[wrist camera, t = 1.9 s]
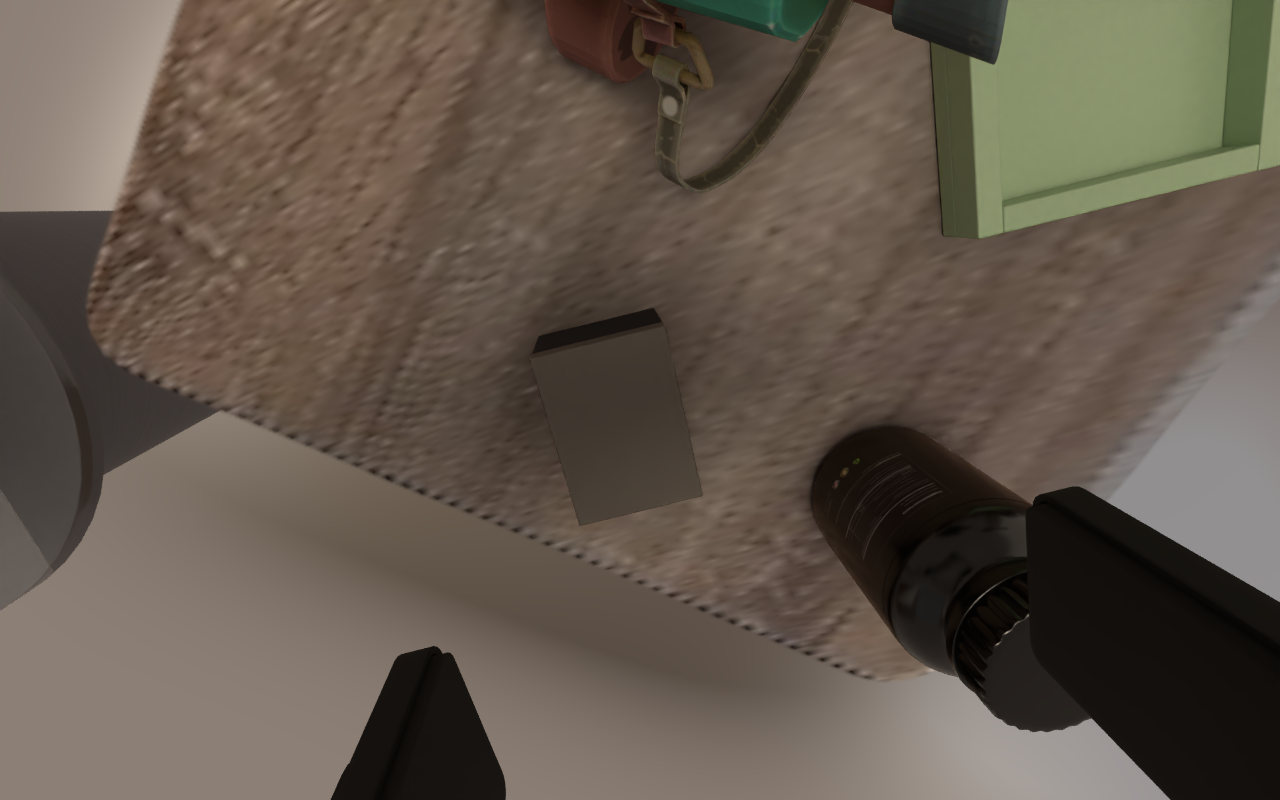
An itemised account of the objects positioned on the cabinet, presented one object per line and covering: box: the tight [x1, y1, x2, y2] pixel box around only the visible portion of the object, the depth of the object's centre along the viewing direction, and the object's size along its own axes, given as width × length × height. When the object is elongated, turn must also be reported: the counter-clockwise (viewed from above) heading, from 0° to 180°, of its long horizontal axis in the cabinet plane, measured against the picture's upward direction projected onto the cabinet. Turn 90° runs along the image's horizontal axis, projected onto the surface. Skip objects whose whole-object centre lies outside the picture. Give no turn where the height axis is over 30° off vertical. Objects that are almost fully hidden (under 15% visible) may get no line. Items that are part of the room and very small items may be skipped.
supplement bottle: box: [812, 427, 1091, 732], centre depth 23 cm, size 7×7×12 cm
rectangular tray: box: [931, 0, 1280, 239], centre depth 22 cm, size 12×14×2 cm
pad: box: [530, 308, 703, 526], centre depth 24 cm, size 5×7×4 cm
